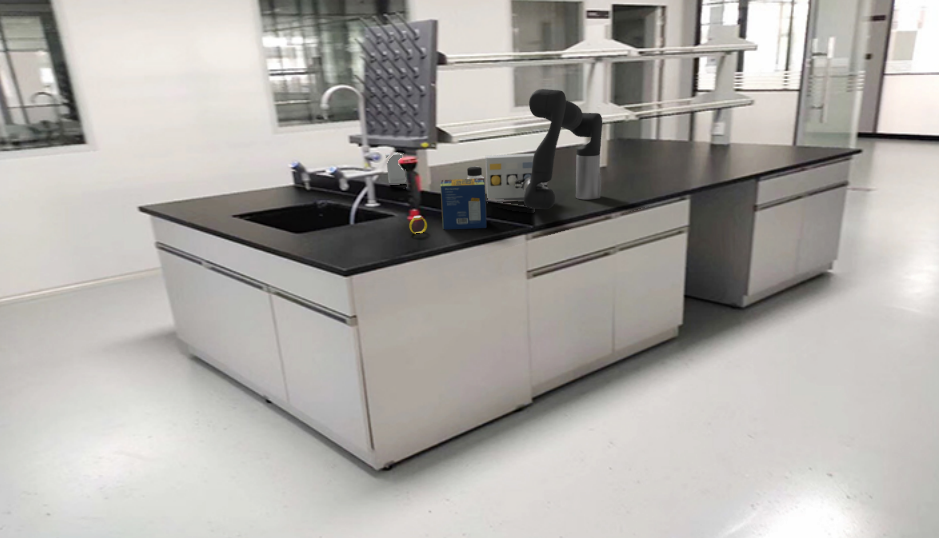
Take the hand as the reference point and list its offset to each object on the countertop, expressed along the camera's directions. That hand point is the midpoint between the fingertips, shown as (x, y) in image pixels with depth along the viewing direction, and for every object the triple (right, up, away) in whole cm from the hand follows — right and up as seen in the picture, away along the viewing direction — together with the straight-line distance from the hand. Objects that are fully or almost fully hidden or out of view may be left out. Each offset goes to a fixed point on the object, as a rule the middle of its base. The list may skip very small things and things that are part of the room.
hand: (528, 179), depth 243 cm
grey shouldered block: (-57, +4, +47) cm, 74 cm away
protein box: (-25, -20, -26) cm, 41 cm away
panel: (-6, -7, +7) cm, 12 cm away
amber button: (-13, -1, +3) cm, 13 cm away
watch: (-41, -23, -33) cm, 57 cm away
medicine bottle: (-21, -4, +19) cm, 28 cm away
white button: (-6, -2, +1) cm, 7 cm away
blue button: (0, -1, +3) cm, 3 cm away
